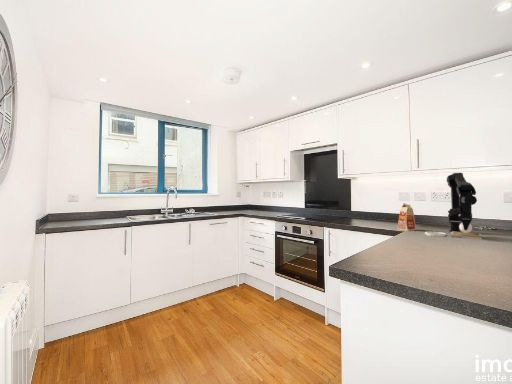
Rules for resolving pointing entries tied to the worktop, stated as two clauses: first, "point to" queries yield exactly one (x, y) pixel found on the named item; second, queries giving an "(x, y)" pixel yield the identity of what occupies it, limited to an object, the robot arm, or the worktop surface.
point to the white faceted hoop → (435, 233)
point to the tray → (466, 235)
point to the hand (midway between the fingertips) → (465, 229)
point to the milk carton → (406, 218)
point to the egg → (465, 230)
